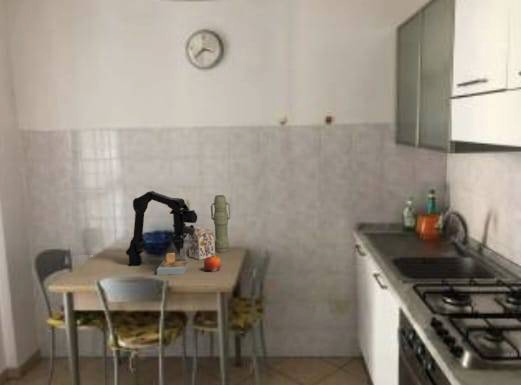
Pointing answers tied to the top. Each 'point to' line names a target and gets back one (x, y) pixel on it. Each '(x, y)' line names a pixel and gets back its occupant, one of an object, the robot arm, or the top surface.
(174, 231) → the robot arm
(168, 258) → the orange cube
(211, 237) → the decorative jar
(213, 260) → the tomato
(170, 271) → the pale grey flat slab
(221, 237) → the green vase
